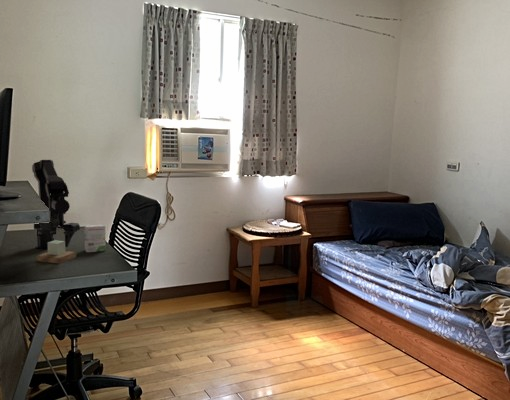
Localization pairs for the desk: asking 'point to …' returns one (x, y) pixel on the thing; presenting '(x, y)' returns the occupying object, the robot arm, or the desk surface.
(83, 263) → the desk surface
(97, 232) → the ink box
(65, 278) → the desk surface
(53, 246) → the sage cube
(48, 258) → the walnut block
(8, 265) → the desk surface
